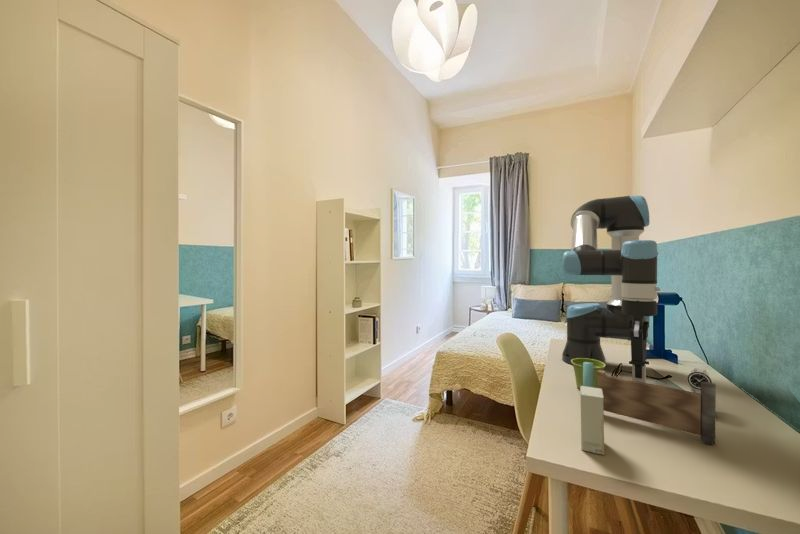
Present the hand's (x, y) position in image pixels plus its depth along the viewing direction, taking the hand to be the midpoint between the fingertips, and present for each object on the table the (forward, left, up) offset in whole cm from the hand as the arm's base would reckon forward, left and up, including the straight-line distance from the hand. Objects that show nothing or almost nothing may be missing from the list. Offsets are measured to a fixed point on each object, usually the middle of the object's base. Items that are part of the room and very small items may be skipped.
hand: (639, 389), depth 84 cm
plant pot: (-10, -14, -7) cm, 19 cm away
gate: (+6, +3, -7) cm, 9 cm away
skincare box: (+24, -6, -7) cm, 26 cm away
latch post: (+6, -11, -7) cm, 14 cm away
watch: (-14, +12, -7) cm, 20 cm away
